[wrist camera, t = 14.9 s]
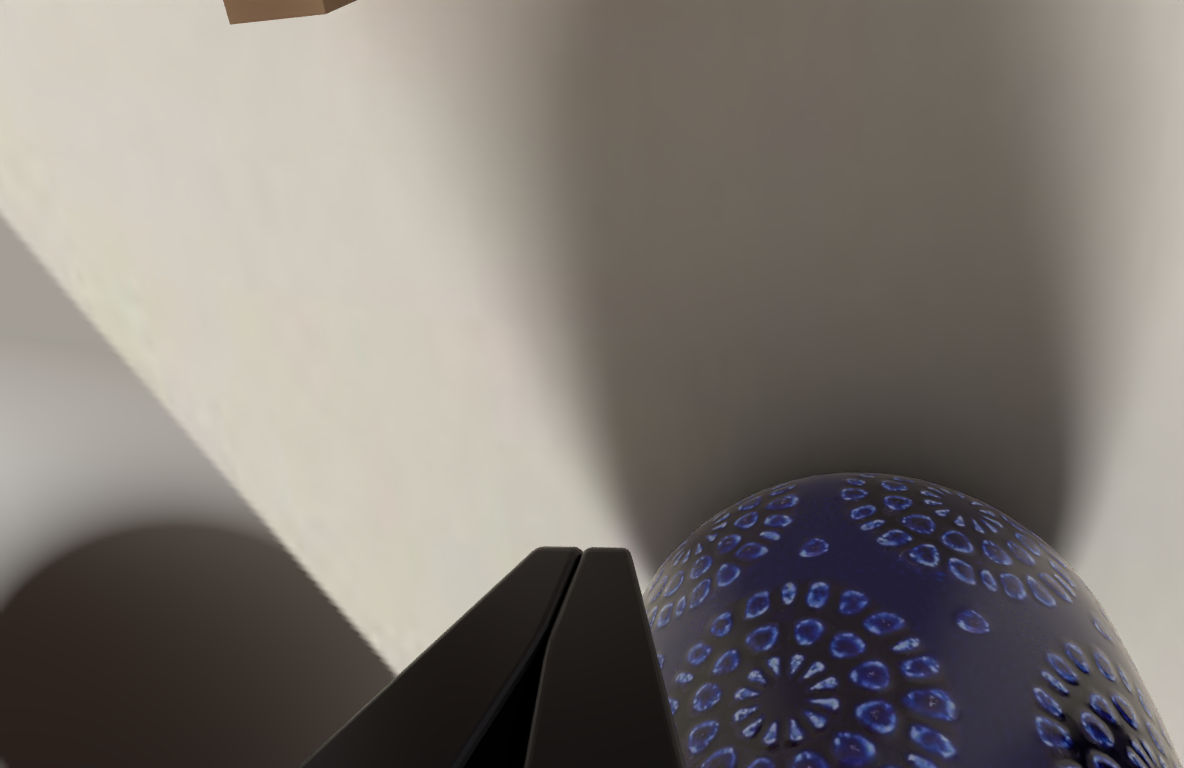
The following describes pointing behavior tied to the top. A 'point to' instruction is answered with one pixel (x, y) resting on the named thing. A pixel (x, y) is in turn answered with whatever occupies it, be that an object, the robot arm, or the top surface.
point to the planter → (890, 638)
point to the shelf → (278, 9)
